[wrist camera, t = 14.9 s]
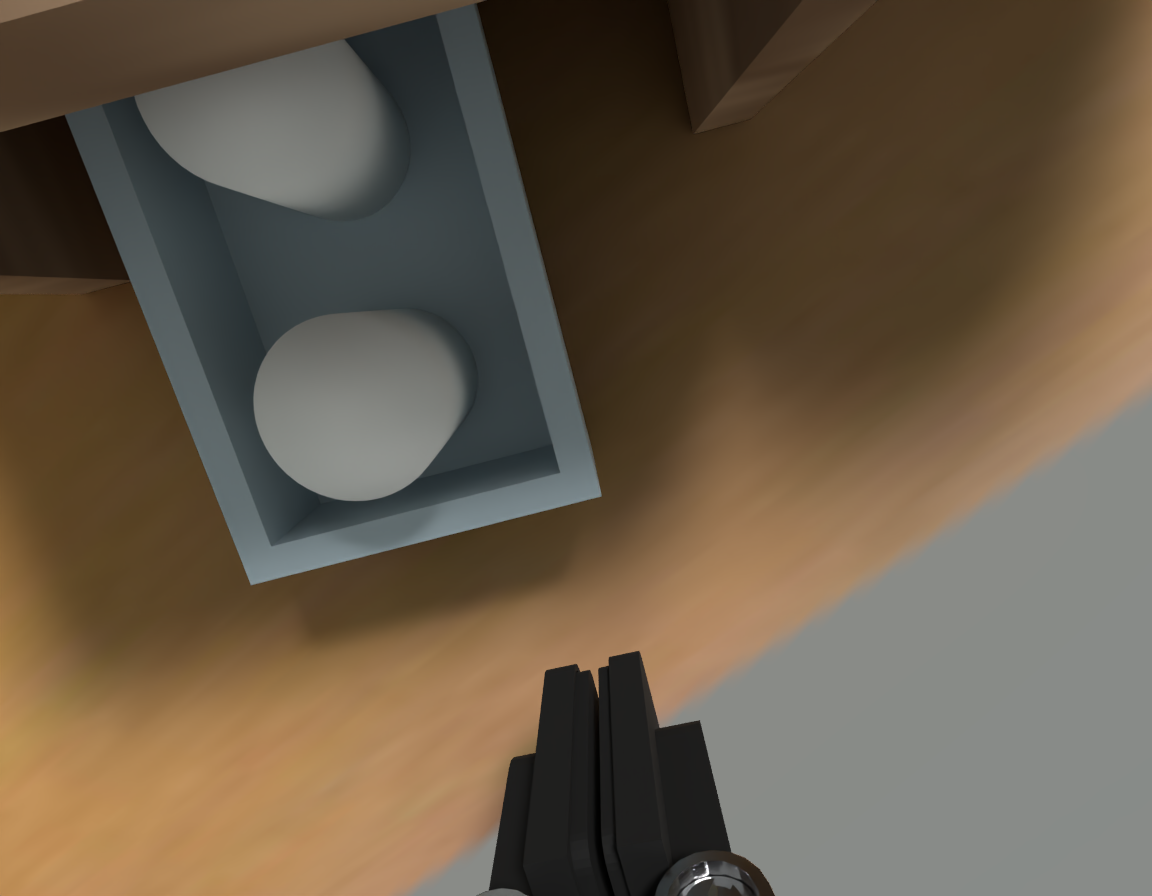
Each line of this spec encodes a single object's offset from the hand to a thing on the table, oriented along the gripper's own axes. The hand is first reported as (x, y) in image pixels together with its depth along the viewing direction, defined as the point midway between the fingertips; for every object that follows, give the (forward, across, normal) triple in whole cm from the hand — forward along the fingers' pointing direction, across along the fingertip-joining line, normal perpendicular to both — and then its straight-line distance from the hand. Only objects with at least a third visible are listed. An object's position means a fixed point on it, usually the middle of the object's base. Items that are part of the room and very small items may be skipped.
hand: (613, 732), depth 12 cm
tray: (+5, +3, -9) cm, 10 cm away
